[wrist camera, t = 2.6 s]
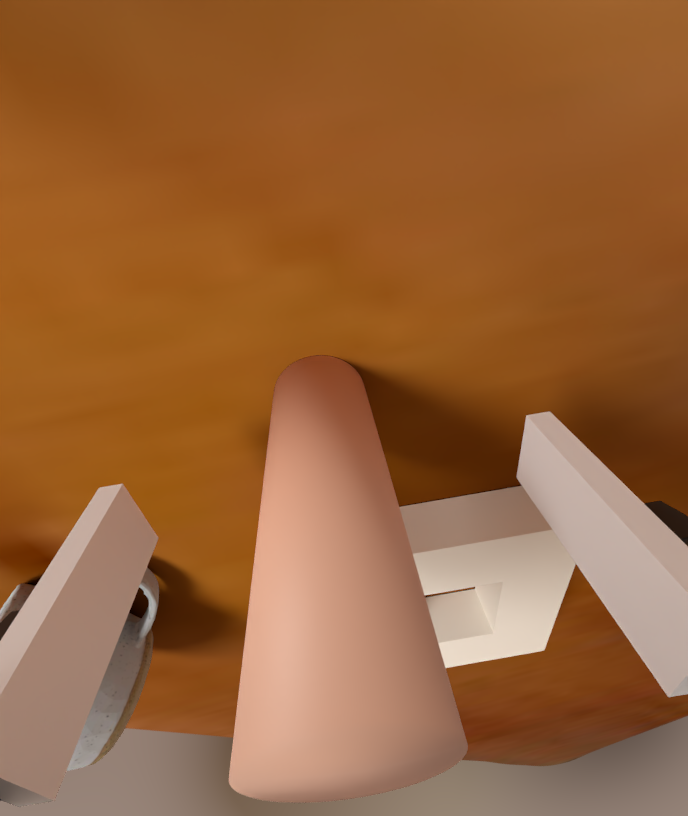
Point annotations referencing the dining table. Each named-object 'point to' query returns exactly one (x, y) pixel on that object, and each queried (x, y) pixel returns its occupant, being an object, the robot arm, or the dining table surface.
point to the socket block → (488, 573)
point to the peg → (336, 613)
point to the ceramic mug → (111, 676)
